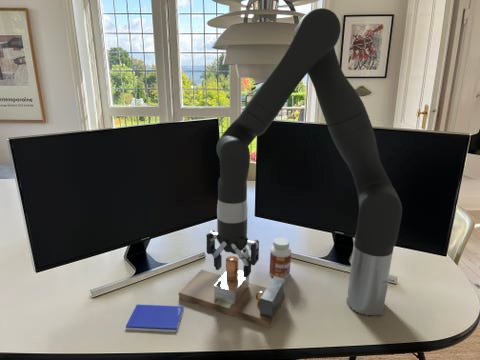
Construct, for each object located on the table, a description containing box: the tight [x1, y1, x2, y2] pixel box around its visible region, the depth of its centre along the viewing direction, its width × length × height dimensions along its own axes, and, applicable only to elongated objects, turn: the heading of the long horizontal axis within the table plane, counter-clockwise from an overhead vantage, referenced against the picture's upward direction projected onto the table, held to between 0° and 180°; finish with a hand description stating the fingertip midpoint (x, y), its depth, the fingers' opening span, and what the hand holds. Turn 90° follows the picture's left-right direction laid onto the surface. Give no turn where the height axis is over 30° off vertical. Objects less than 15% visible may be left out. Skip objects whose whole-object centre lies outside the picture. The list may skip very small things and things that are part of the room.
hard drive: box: [125, 303, 185, 333], centre depth 85 cm, size 2×8×12 cm
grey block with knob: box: [256, 276, 286, 319], centre depth 87 cm, size 6×10×5 cm, turn 156°
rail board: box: [178, 269, 286, 329], centre depth 92 cm, size 26×12×2 cm, turn 66°
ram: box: [214, 255, 250, 305], centre depth 90 cm, size 6×9×10 cm, turn 156°
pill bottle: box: [268, 237, 292, 279], centre depth 102 cm, size 6×6×11 cm
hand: (232, 272), depth 90 cm, fingers open, 7 cm apart
